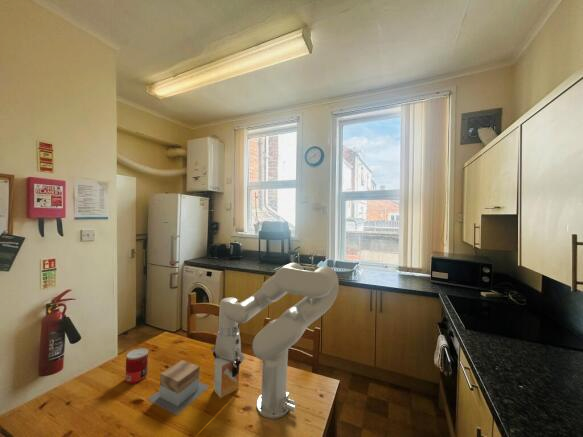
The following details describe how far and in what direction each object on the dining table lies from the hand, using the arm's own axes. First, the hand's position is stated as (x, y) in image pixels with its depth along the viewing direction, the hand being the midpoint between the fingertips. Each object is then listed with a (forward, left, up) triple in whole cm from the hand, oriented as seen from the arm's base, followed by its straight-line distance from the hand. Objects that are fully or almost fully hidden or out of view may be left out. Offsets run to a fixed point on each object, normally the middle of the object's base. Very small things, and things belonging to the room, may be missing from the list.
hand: (226, 371), depth 96 cm
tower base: (+15, +10, -7) cm, 19 cm away
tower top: (+15, +10, -2) cm, 18 cm away
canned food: (+39, +12, -8) cm, 42 cm away
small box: (0, 0, -8) cm, 8 cm away
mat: (+15, +10, -7) cm, 20 cm away
